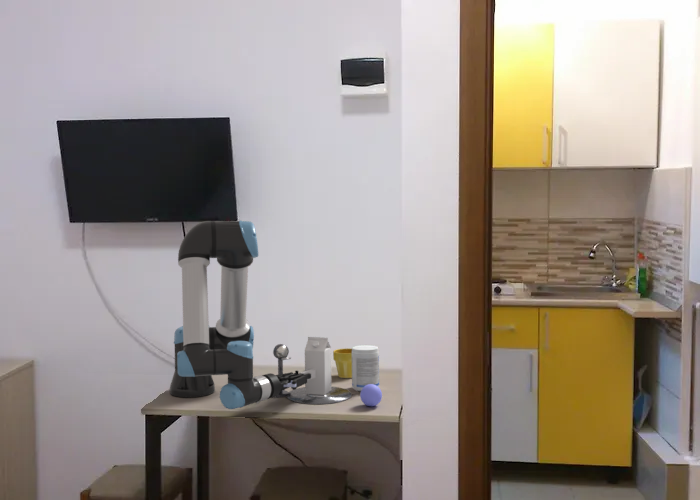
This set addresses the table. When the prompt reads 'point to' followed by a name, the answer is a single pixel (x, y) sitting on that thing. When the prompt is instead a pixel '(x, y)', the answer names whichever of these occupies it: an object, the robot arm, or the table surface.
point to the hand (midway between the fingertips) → (313, 373)
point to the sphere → (371, 395)
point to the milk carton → (318, 365)
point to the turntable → (319, 396)
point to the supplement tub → (365, 366)
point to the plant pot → (343, 362)
